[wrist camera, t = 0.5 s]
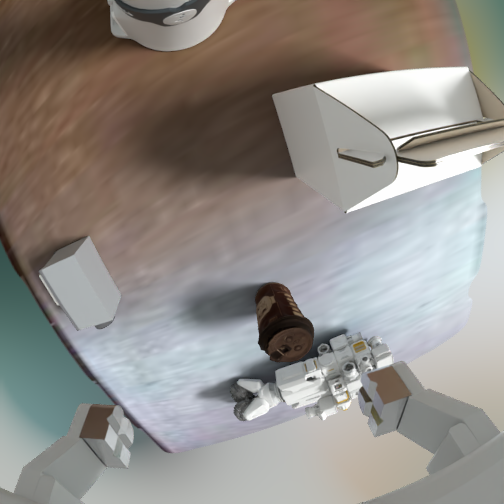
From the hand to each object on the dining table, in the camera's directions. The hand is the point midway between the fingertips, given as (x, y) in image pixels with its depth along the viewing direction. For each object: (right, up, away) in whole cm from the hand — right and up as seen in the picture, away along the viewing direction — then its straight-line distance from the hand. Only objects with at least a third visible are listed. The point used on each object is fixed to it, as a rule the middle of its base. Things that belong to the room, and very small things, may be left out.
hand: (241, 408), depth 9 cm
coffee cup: (+4, -3, +45) cm, 45 cm away
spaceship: (+12, -21, +55) cm, 60 cm away
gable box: (+15, +25, +33) cm, 45 cm away
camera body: (-27, +1, +37) cm, 46 cm away
